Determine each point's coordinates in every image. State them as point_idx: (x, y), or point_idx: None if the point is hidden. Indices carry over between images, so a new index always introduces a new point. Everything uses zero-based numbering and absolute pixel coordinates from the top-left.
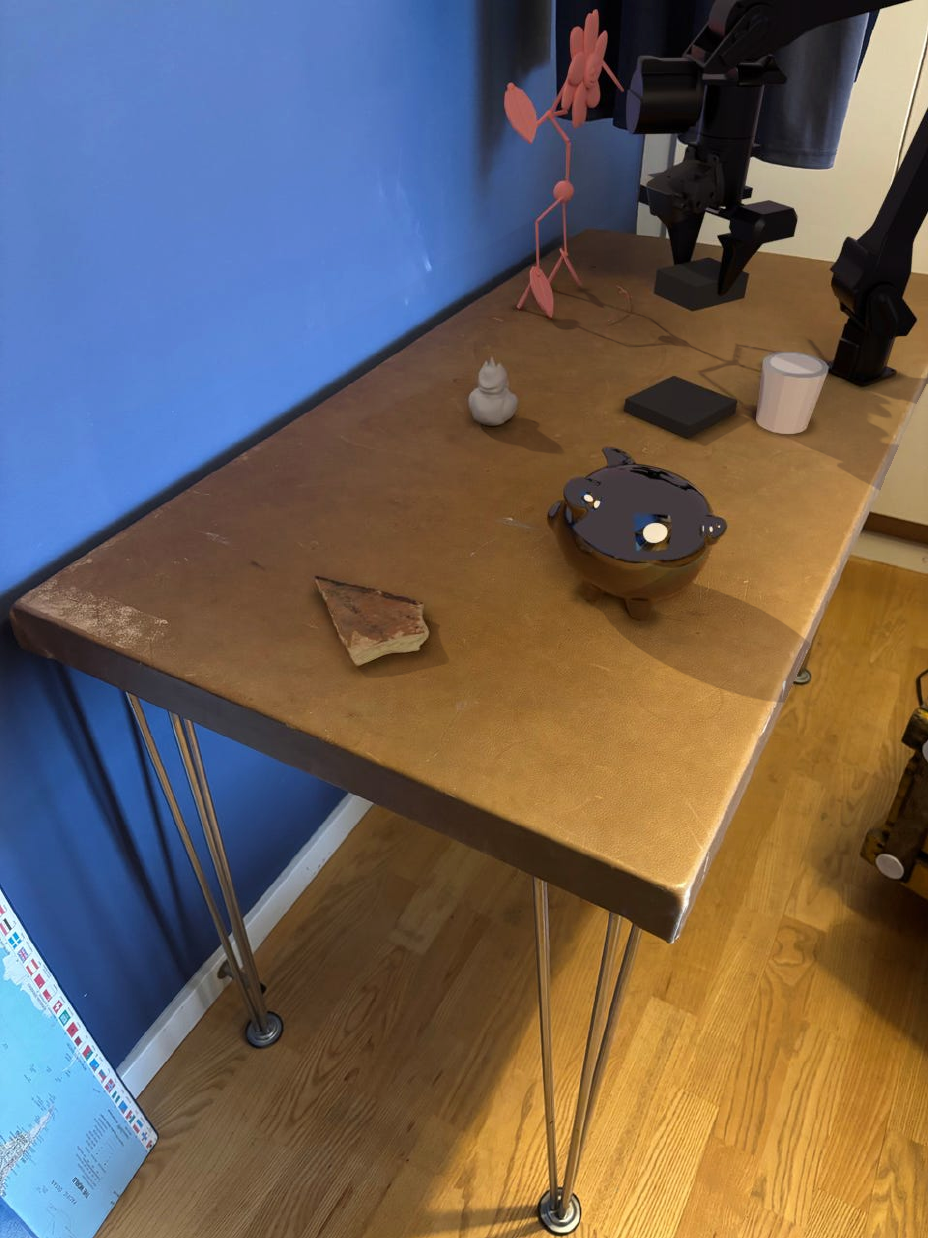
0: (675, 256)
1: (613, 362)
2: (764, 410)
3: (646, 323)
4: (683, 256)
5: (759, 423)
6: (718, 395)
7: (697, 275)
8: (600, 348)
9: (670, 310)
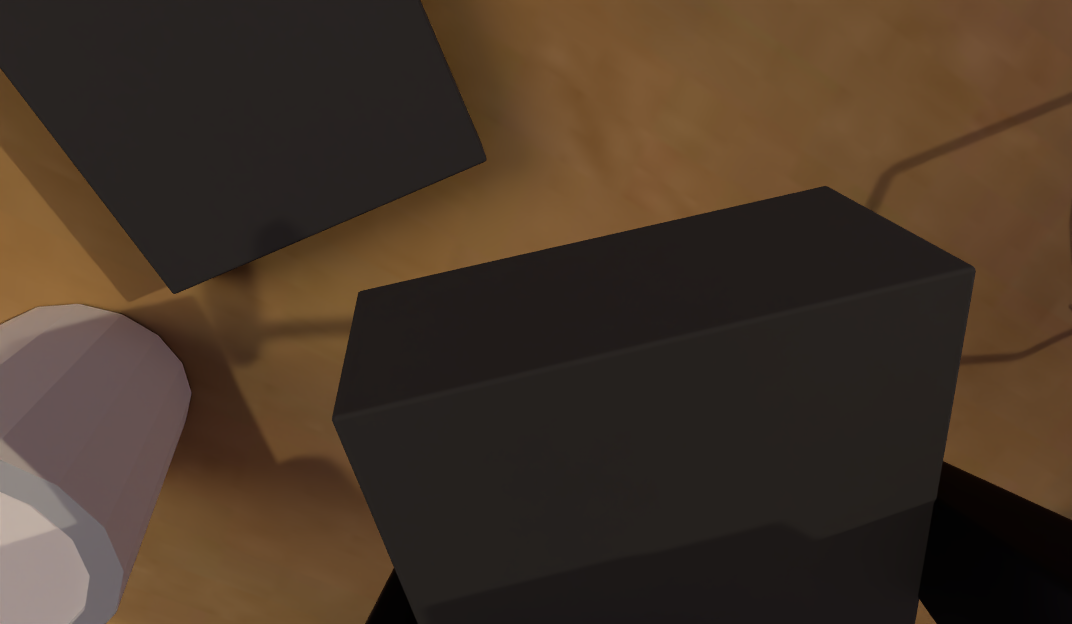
0: (1022, 527)
1: (804, 26)
2: (10, 336)
3: (991, 329)
4: (973, 584)
5: (65, 306)
6: (238, 244)
7: (618, 536)
8: (944, 45)
9: (1009, 441)
